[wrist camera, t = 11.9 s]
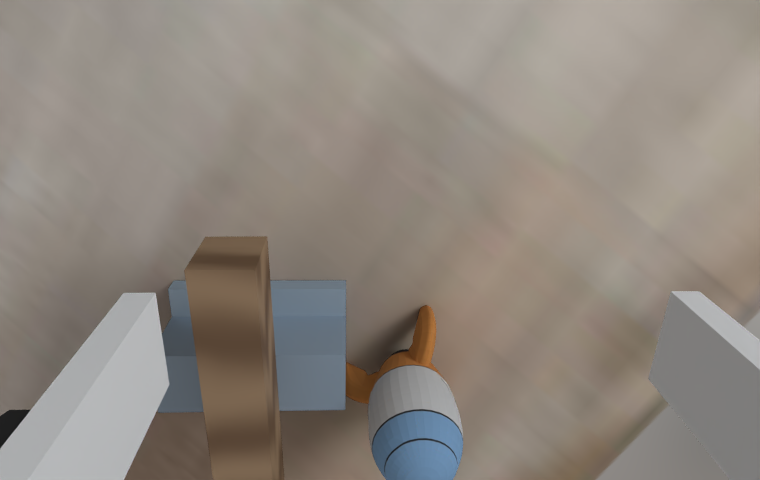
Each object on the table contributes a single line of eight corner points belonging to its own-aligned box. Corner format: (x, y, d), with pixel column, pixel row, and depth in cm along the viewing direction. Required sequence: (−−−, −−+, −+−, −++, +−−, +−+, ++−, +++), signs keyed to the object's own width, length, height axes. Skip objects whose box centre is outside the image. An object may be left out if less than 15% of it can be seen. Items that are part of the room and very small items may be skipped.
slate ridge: (173, 280, 45) (144, 326, 38) (345, 280, 46) (345, 325, 39) (187, 381, 49) (162, 438, 42) (345, 379, 49) (345, 435, 43)
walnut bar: (205, 236, 36) (184, 270, 31) (267, 236, 36) (255, 269, 32) (237, 506, 45) (224, 562, 41) (285, 504, 45) (278, 560, 41)
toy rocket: (333, 379, 51) (310, 479, 36) (378, 276, 49) (373, 337, 34) (436, 420, 51) (454, 534, 37) (483, 319, 49) (523, 398, 35)
